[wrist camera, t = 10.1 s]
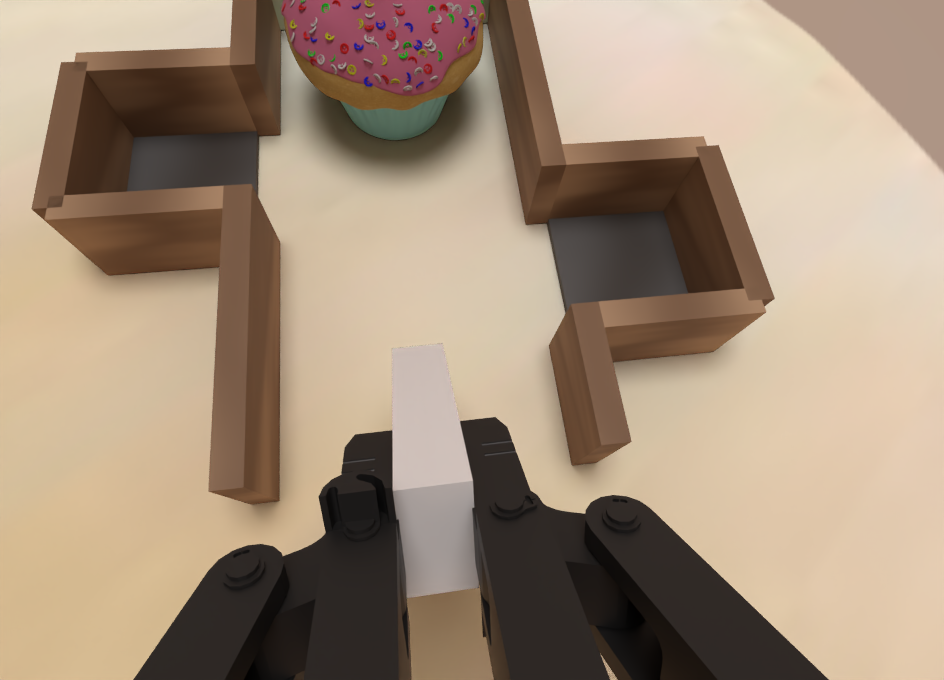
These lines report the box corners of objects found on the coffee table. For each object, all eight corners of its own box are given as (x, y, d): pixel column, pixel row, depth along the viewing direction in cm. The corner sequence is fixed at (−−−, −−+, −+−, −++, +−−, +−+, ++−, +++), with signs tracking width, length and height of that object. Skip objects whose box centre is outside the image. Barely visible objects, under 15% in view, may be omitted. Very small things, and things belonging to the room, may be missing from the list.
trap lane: (59, 527, 19) (-61, 517, 14) (131, 21, 28) (72, -85, 24) (753, 443, 22) (839, 411, 17) (615, 6, 31) (647, -92, 26)
